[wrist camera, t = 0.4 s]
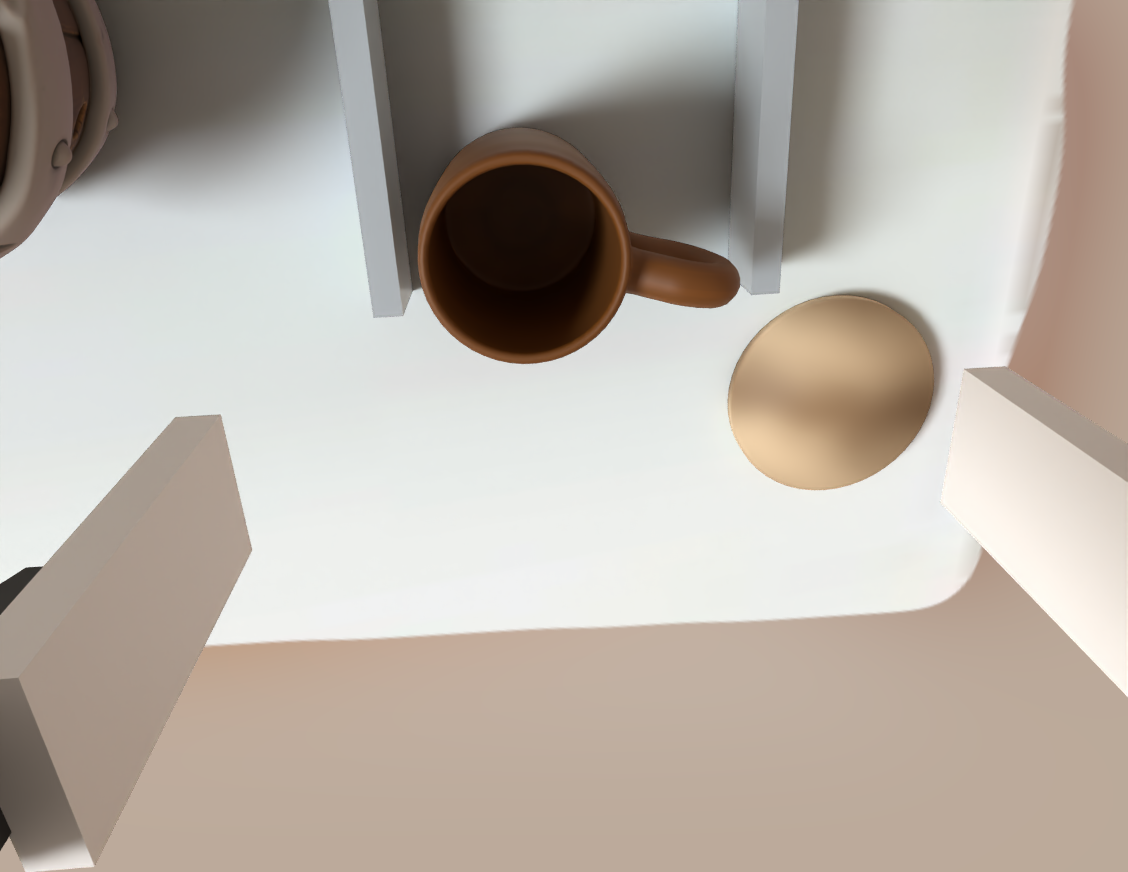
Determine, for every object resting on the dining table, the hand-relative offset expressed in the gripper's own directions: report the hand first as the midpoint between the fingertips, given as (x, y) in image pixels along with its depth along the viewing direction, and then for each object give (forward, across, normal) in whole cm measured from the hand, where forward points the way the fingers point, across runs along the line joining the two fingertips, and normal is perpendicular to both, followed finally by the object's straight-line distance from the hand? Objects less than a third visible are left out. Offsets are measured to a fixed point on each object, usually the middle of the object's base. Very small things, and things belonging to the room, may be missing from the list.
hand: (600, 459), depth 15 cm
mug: (+24, +1, 0) cm, 25 cm away
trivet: (+24, +14, -9) cm, 29 cm away
